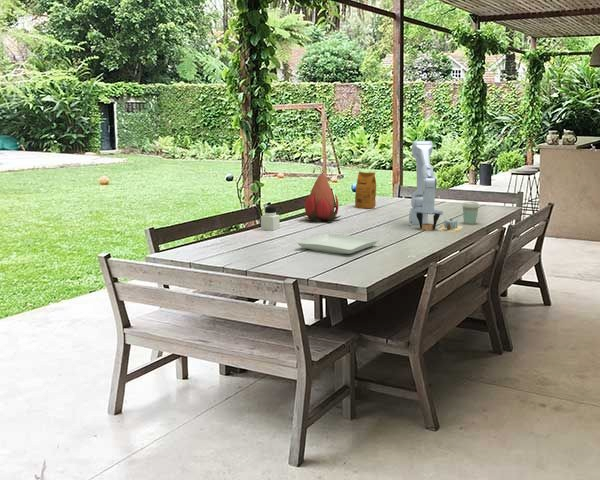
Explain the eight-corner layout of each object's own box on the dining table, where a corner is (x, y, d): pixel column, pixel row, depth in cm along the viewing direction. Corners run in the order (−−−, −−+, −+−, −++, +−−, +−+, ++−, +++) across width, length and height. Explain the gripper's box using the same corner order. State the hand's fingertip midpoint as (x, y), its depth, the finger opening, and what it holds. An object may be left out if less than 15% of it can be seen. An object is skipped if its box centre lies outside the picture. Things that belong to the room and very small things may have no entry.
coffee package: (360, 205, 436) (360, 170, 431) (377, 207, 429) (378, 171, 425) (352, 207, 427) (352, 171, 423) (370, 209, 421) (371, 173, 416)
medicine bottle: (279, 228, 357) (279, 205, 355) (273, 230, 351) (273, 207, 348) (267, 227, 360) (267, 204, 358) (260, 229, 354) (260, 206, 351)
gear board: (435, 232, 348) (436, 223, 347) (441, 226, 364) (442, 218, 363) (458, 234, 344) (458, 225, 343) (463, 227, 360) (463, 219, 359)
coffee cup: (478, 227, 363) (479, 204, 361) (461, 226, 365) (462, 203, 362) (477, 224, 371) (478, 202, 369) (461, 223, 373) (462, 201, 370)
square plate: (351, 257, 293) (351, 248, 292) (295, 250, 307) (295, 241, 306) (379, 246, 315) (379, 238, 314) (326, 240, 329) (326, 232, 328)
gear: (443, 228, 354) (443, 219, 354) (445, 225, 360) (445, 217, 359) (456, 228, 352) (456, 220, 351) (458, 226, 358) (458, 218, 357)
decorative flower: (321, 225, 367) (321, 168, 362) (292, 219, 384) (292, 164, 379) (350, 220, 382) (351, 165, 376) (321, 215, 399) (322, 162, 393)
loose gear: (420, 231, 349) (420, 224, 349) (422, 229, 355) (423, 223, 354) (432, 232, 347) (432, 225, 347) (434, 230, 353) (434, 223, 352)
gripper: (412, 201, 347) (411, 228, 350) (441, 203, 342) (440, 230, 345) (415, 200, 353) (414, 226, 356) (444, 201, 348) (443, 228, 351)
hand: (427, 228), depth 351 cm, fingers closed on loose gear, 6 cm apart
